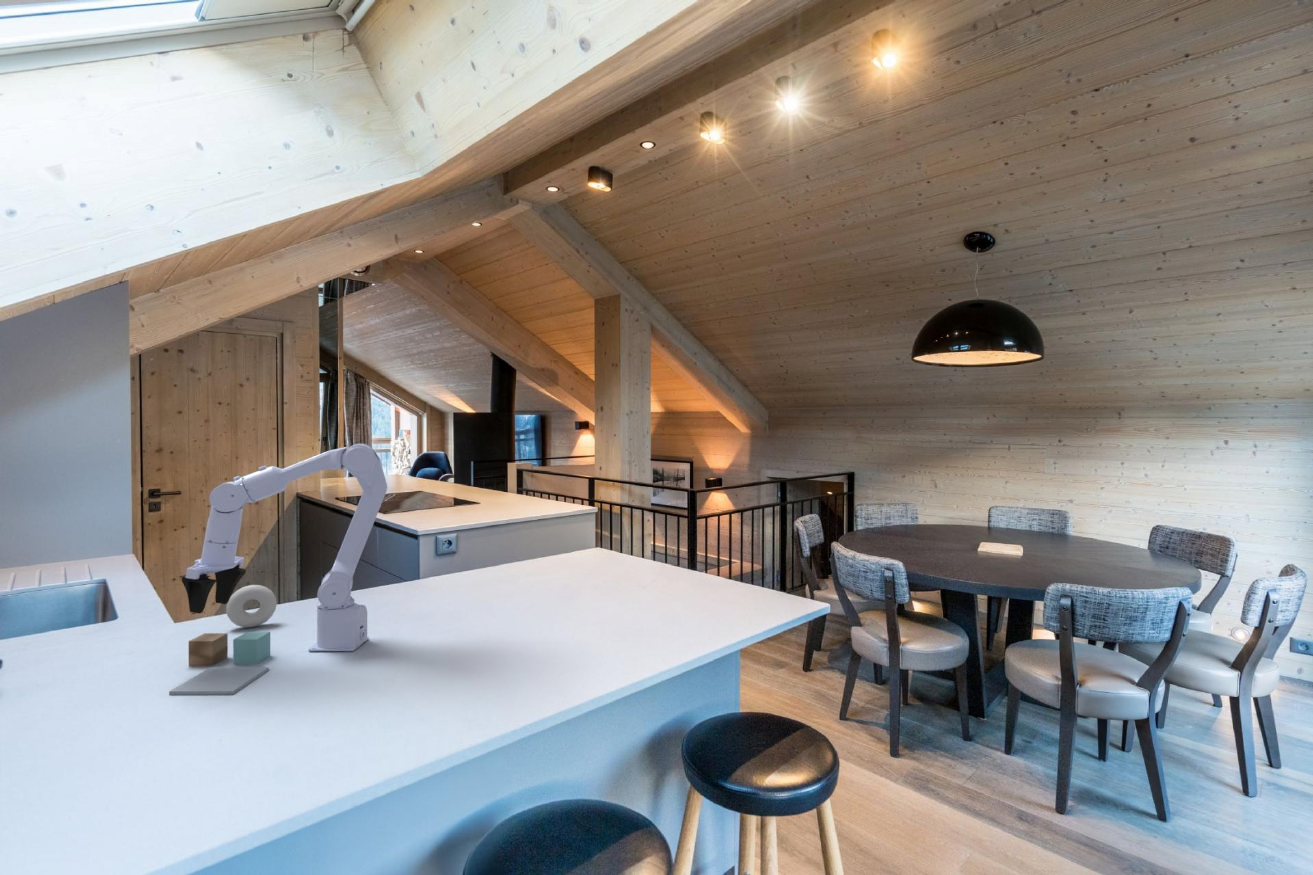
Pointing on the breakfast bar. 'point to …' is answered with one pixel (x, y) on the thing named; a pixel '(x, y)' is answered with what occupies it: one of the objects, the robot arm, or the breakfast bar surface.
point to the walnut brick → (208, 649)
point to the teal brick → (251, 648)
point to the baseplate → (219, 681)
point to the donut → (255, 618)
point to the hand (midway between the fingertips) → (209, 607)
